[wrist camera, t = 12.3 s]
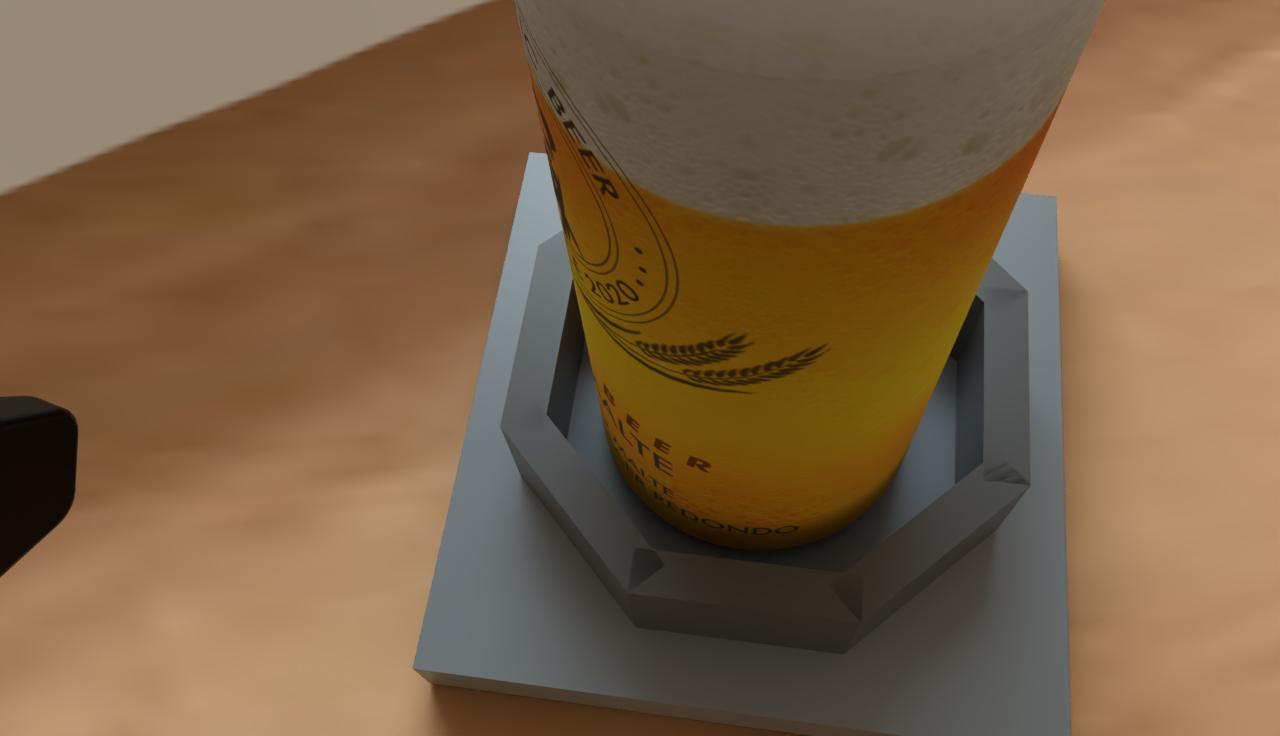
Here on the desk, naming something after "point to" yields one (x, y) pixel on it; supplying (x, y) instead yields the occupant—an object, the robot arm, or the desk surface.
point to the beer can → (784, 228)
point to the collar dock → (765, 579)
